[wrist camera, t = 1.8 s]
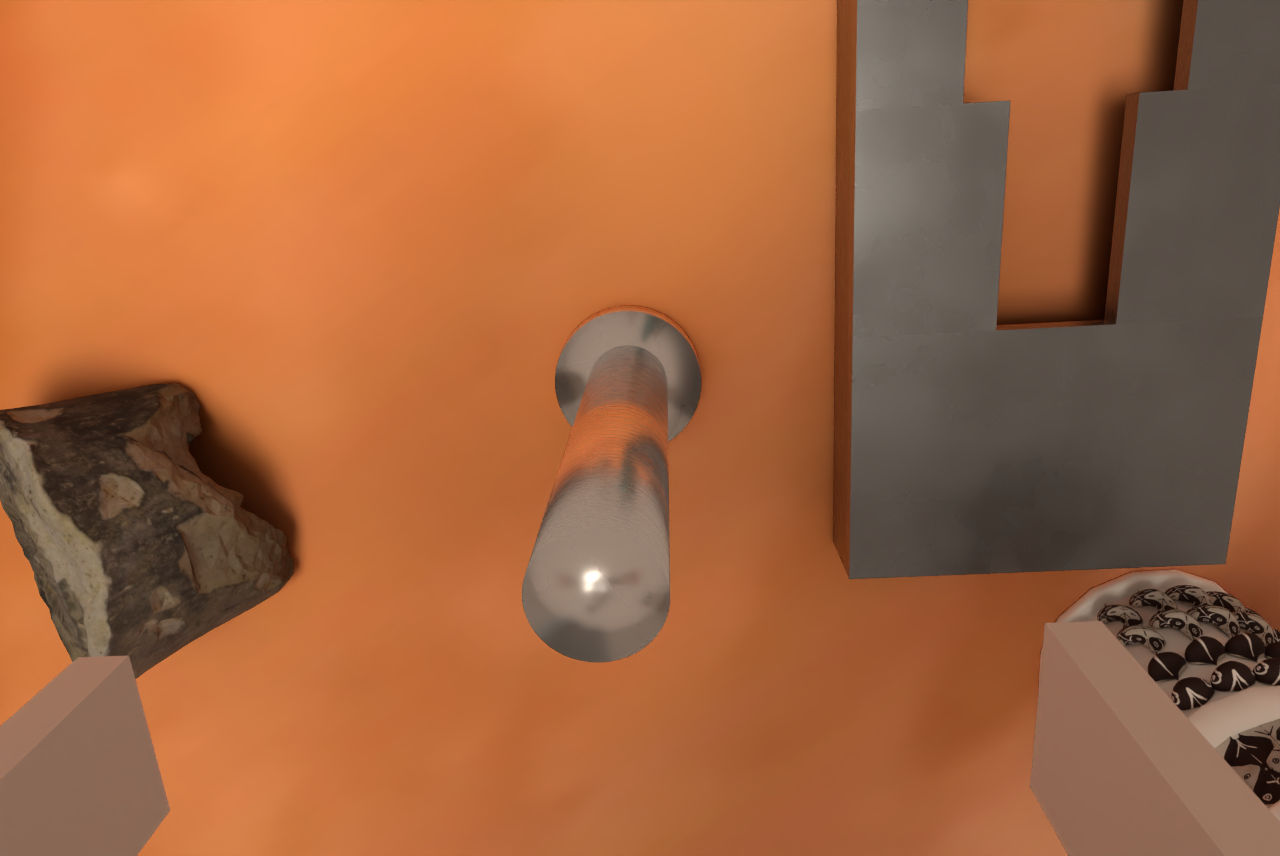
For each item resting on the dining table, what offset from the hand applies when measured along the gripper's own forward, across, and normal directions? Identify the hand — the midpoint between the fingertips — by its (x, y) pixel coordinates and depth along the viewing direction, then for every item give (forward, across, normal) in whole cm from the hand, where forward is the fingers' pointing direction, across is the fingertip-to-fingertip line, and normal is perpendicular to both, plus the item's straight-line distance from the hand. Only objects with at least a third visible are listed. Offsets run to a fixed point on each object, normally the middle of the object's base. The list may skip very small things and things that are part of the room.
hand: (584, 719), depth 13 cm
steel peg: (+21, 0, 0) cm, 21 cm away
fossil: (+21, +19, +4) cm, 29 cm away
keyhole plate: (+21, -14, -6) cm, 26 cm away
